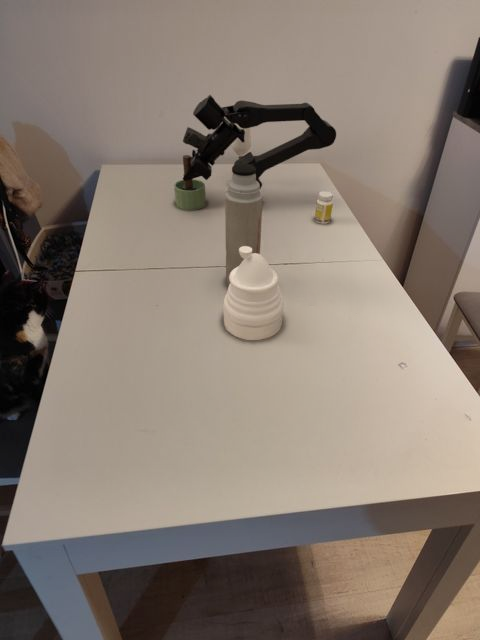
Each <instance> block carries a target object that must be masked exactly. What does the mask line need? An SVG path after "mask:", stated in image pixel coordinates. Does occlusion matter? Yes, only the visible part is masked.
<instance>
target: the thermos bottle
mask: <svg viewBox="0 0 480 640" xmlns="http://www.w3.org/2000/svg"><path fill="white" fill-rule="evenodd" d="M231 172H232V174H231V175H232V177H231V178H232V179H231V180H229V181H228V183H227V185H228V186H227V191H225V192H224V193H225V194H224V212H225V213H224V215H225V218H224V219H225V220H224V221H225V224H224V225H225V228H224V229H225V284H226V286H227V288H228V287H229V285H230V280H229V275H230V273H231V271H232V270H233V269H235V268H236V267H238V266H240V264H241V263H242V261H243V260H244V258H242V257H241V255H240V253H239V248H240V247H242V246H248V247H251V248H252V253H258V254H260V255H261V242H262V241H261V239H262V221H263V220H262V219H263V217H262V216H263V197H264V196H263V193H262V192H261V189H260V184H259V182H257V181H256V174H255V173H256V168H255V167H254V166H252V165H249V164H237V165H234V164H233V166H231Z"/></svg>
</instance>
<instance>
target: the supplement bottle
mask: <svg viewBox="0 0 480 640" xmlns="http://www.w3.org/2000/svg"><path fill="white" fill-rule="evenodd" d="M333 204H334V201H333V193H332V192H331V191H327V190H323V191H320V192H319V193H318V198H317V200H316V205H315V212H314V213H315V214H314V221H315V222H316V223H317V224H324V225H325V224H329V223H330V222H331V218H332V212H333Z"/></svg>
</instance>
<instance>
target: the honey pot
mask: <svg viewBox="0 0 480 640" xmlns="http://www.w3.org/2000/svg"><path fill="white" fill-rule="evenodd" d="M239 253H240V255H241V257H242V258H244V260H243V261H242V263H241V264H240V266H238V267H236V268H235V269H233V270H232V271H231V273H230V275H229V280H230V285H229V287H228V286H227V291H226V294H225V295H224V299H223V302H222V303H223V309H222V310H223V325H224V327H225V329H226V331H227V332H229V334H231V335H232V336H234V337H236V338H239V339H242V340H247V341H262V340H266V339H269V338H271V337H273V336H275V335H277V333H278V332H279V331H280V330H281V328H282V325H283V314H284V301H283V297H282V294H281V290H280V287H279V285H278V283H279V276H278V274H277V272H276V271H275V269H273V268H272V267H271V265H270V264H269V263H268V261H267V260H266V258H265V257H264V256H263V255H261V253H260V254H258V253H252V248H251V247H248V246H242V247H240V248H239Z"/></svg>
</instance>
